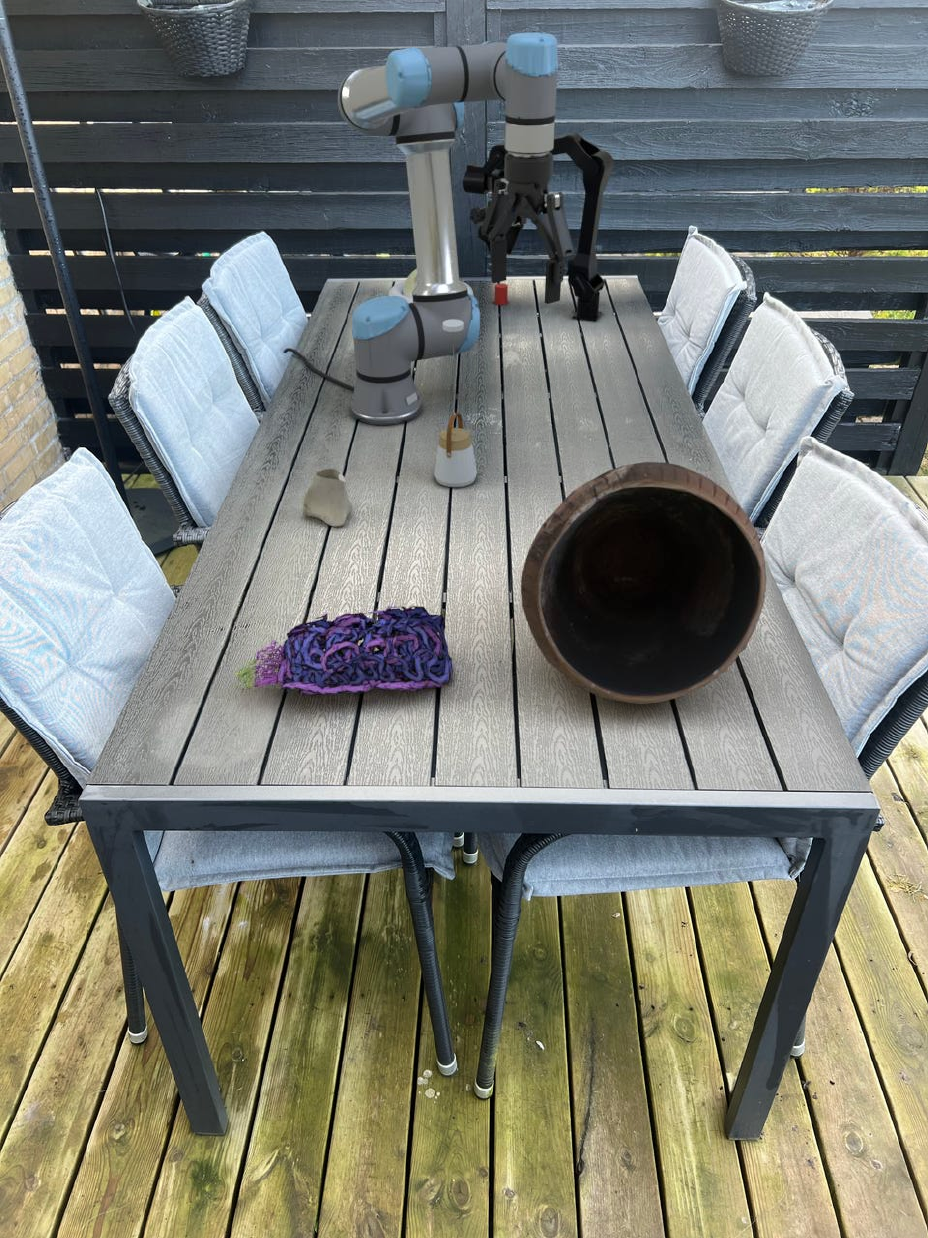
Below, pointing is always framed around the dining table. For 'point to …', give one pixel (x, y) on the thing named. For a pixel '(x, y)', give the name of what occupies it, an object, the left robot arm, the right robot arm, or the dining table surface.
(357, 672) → the decorative ornament
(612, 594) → the pot
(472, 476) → the pendant light
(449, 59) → the left robot arm
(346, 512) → the bone
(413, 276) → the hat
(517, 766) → the dining table surface
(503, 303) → the can
